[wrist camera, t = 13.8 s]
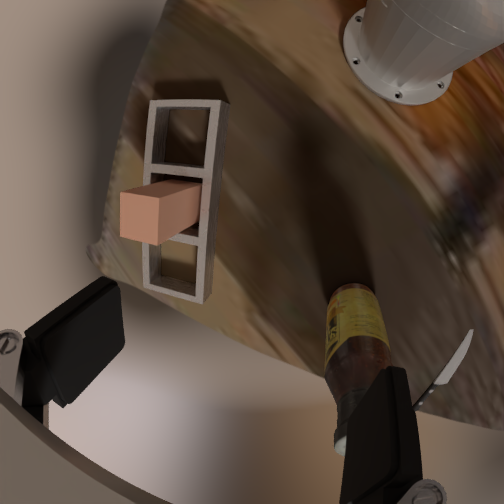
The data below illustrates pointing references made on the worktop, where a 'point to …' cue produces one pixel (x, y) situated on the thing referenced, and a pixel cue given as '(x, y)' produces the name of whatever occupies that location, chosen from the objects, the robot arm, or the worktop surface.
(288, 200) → the worktop surface
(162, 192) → the square peg
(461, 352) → the chef's knife
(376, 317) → the sauce bottle
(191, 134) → the worktop surface
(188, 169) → the hole rail
